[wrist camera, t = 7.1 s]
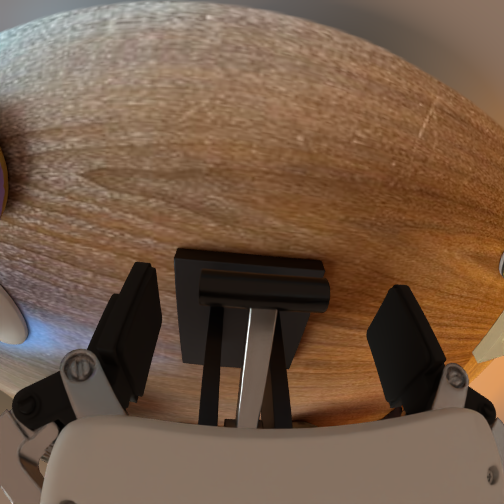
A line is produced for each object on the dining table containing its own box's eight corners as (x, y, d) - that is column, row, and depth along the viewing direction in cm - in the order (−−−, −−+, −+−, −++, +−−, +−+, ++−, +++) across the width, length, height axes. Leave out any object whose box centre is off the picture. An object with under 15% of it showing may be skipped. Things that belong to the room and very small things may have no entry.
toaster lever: (204, 261, 12) (197, 279, 10) (319, 270, 12) (337, 289, 10) (200, 443, 15) (198, 471, 12) (278, 446, 15) (283, 473, 13)
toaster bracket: (177, 247, 19) (125, 434, 8) (321, 260, 20) (375, 437, 9) (184, 353, 26) (167, 480, 15) (287, 359, 26) (301, 484, 16)
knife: (351, 440, 45) (353, 452, 43) (347, 440, 45) (349, 453, 43) (401, 403, 36) (405, 418, 34) (397, 404, 36) (401, 419, 34)
